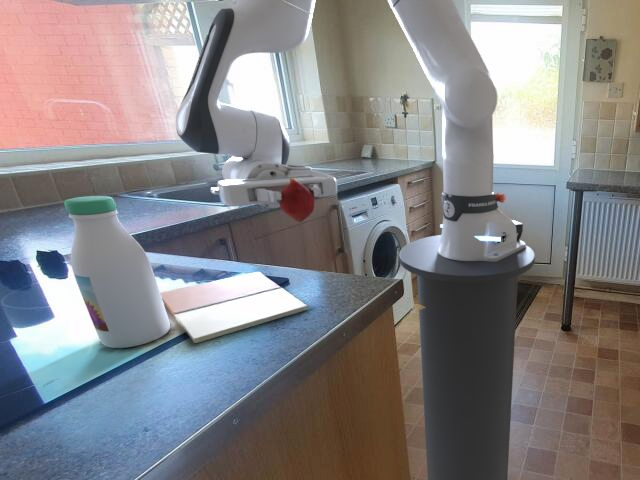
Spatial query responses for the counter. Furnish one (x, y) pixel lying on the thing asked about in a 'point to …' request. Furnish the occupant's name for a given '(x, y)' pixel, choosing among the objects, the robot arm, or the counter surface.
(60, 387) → the counter surface
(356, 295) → the counter surface
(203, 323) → the sorting board
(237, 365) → the counter surface
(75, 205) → the milk bottle
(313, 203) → the onion
